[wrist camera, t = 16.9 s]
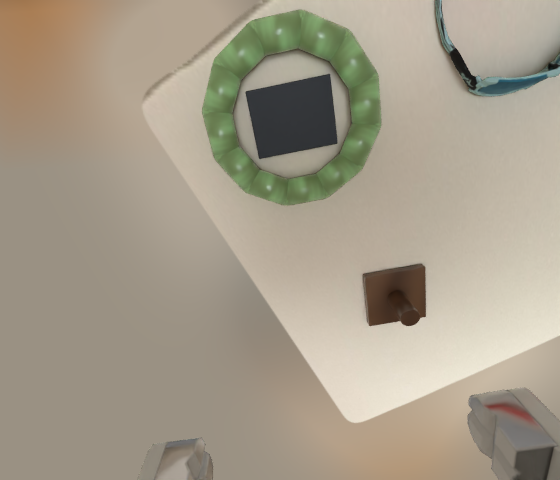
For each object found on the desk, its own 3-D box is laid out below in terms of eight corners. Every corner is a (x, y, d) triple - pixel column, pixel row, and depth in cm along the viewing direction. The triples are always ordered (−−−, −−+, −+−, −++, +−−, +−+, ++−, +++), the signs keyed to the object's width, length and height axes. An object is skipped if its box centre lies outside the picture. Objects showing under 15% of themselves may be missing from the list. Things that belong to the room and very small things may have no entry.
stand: (422, 263, 40) (444, 284, 35) (422, 312, 43) (442, 338, 37) (362, 274, 40) (375, 296, 35) (367, 322, 43) (379, 348, 38)
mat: (329, 74, 31) (330, 73, 31) (336, 143, 34) (337, 143, 33) (245, 92, 32) (245, 91, 31) (259, 158, 34) (259, 158, 34)
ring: (368, 0, 29) (378, -14, 26) (380, 184, 36) (389, 189, 33) (186, 40, 30) (177, 31, 27) (231, 212, 37) (227, 220, 34)
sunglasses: (663, 8, 25) (606, 34, 30) (583, -160, 23) (536, -103, 28) (507, 116, 28) (478, 123, 33) (424, -26, 26) (406, 5, 31)
